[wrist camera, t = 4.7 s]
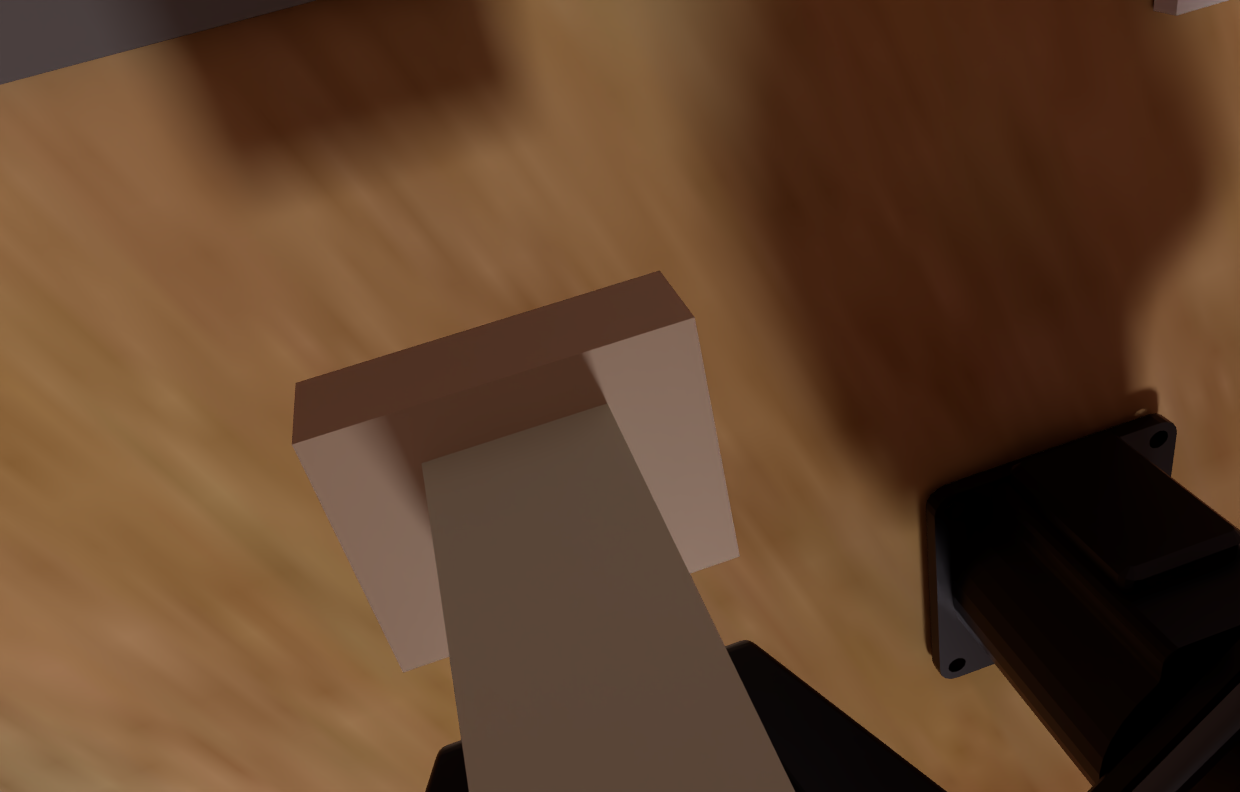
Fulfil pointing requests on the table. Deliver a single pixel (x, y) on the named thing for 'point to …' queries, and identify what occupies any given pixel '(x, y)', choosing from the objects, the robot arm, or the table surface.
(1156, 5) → the pad
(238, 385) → the table surface
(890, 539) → the table surface
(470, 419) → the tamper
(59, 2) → the mat
